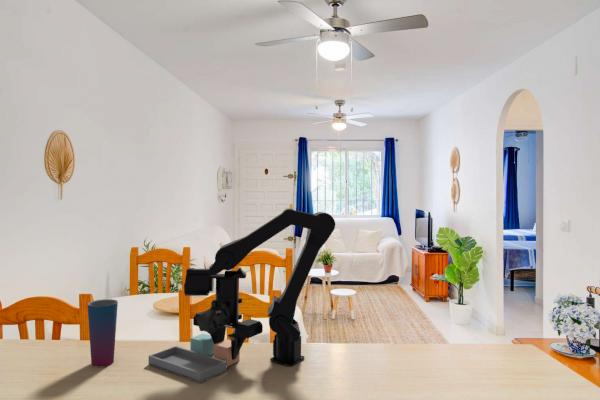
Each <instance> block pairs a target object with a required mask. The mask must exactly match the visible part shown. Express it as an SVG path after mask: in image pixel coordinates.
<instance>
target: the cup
mask: <svg viewBox="0 0 600 400" xmlns="http://www.w3.org/2000/svg"><path fill="white" fill-rule="evenodd" d="M118 304H119V301H118V300H117V299H111V298H110V299H108V298H107V299H106V298H104V299H96V300H92V301H89V302H88V303H87V320H88V332H89V335H88V336H89V349H90V362H91V366H92V367H93V368H94V367H95V368H103V367H108V366H110V365H113V363H114V362H115V347H116V346H115V345H116V335H117V334H116V333H117V320H118V319H117V318H118V307H119V306H118Z"/></svg>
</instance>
